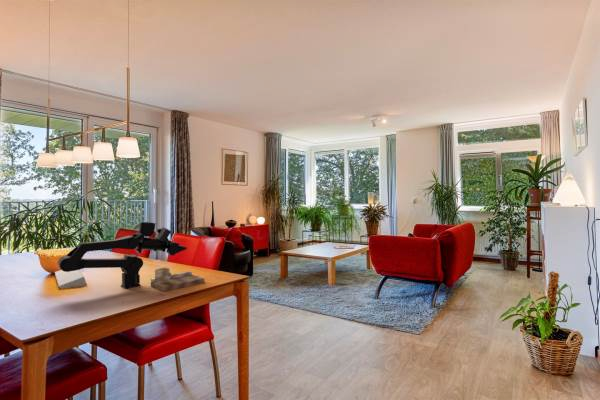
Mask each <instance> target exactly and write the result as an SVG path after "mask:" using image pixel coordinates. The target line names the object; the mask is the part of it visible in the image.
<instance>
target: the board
mask: <svg viewBox="0 0 600 400" xmlns="http://www.w3.org/2000/svg"><path fill="white" fill-rule="evenodd" d="M203 283H205V277H201V276H199V275H196V274H193V271H190V270H189V271H184V272H178V273H173V274H171V276H170V282H166V283H161V284H158V283H155V277H153V278H150V287H151V288H154V289H157V290H160V291H162V292H164V293H165V292H167V291H169V292H170V291H172V290H179V289H181V288H186V287H190V286H195V285H199V284H203Z"/></svg>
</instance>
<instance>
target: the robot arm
mask: <svg viewBox="0 0 600 400" xmlns="http://www.w3.org/2000/svg"><path fill="white" fill-rule="evenodd" d="M155 230H156V232H157V236H154V235H155ZM171 233H172V230H170V229H168V228H166V227H164V226H162V227H161V228H157V229H156V222H151V221H149V222H148V221H140V222H139V229H138V232H136V233H134V234H132V235H126V236H123V237H119V238H115V239H110V240H98V241H88V242H85V241H84V242H79V243H78V245H76V247H74V248H73V249H71V250H70V251H69V252H68V253H67V254H66V255H63V256H61V257H60V258H58V261H57V266H58V268H60V270H62V271H65V272H70V271H76V270H80V271H81V270H83V269H103V268H104V269H106V268H107V269H111V268H114V269H115V268H117V269H118V268H119V269H120V270H121V284H120V287H121V288H124V289H130V288H135V287H139V286H141V284H140V283H141V282H140V281H141V280H140V278H141V277H140V274H139V272H140V270H141V269H142V267H143V265H144V260H143V259H142V258H141V257H139V256H137V255H136V254H133V253H131V254H123V257H120V258H83V257H84V256H85V254H86V253H88V252H96V251H97V252H99V251H105V250H112V249H113V250H114V249H119V250H120V249H121V250H135V251H136V253H138V254H142V253H143V250H148V251H153V252H157V251H160V252H163V253H167V254H168V255H169V256H175V255H176V254H179V253H181V252H183V251H187V247H186V246H183V245H180V243H179V242H176V241H174V240H173V241H172V240H170V239H169V236H170V235H171ZM152 236H154V237H152Z"/></svg>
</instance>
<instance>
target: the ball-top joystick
mask: <svg viewBox="0 0 600 400" xmlns="http://www.w3.org/2000/svg"><path fill="white" fill-rule="evenodd" d="M170 271H171V269H170V268H168V267H160V268H155V269H154V278H155V283H158V284H161V283H166V282H170V276H171V275H172V273H171V272H170Z"/></svg>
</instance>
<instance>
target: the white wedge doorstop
mask: <svg viewBox="0 0 600 400" xmlns="http://www.w3.org/2000/svg"><path fill="white" fill-rule="evenodd" d="M54 274H55V278H56V281H57V285H58V287H59V288H60V290H64V289H70V288H76V287H84V286H88V284H87V282H86V281H87V280H86V279H85V276H84V274H83V273H82V271H81V269H80V270H76V271H70V272H65V271H62V270H61V269H60V270H57V271H54Z"/></svg>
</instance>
